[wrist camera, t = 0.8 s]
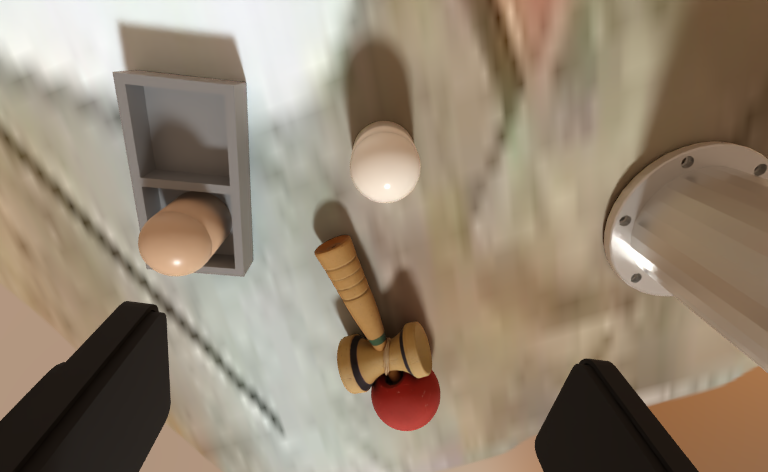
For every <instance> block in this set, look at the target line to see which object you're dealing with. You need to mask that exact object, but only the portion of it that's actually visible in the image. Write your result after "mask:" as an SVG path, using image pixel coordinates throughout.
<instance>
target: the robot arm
mask: <svg viewBox="0 0 768 472" xmlns="http://www.w3.org/2000/svg"><path fill="white" fill-rule="evenodd" d="M604 248H605V253H606V257H607V260H608V262H609V264H610V266H611V268H612V269H613V270H614V272H615V273H616V274H617V275H618V276H619V277H620V278H621V279H622V280H623V281H624V282H625V283H627V284H628V285H629V286H631V287H633V288H635V289H637V290H638V291H640V292H644V293H647V294H651V295H658V296H675V297H676V298H677V299H678V300H679V301H681V302H682V303H683V304H684V305H685V306H687V307H688V308H689V309H690V310H692V311H693V312H694V313H695V314H696V315H698V316H699V317H700V318H701V319H703V320H704V321H705V322H706V323H707V324H709V325H710V326H711V327H712V328H714V329H715V330H716V331H717V332H718V333H720V334H721V335H722V336H723V337H724V338H726V339H727V340H728V341H729V342H731V343H732V344H733V345H734V346H735V347H737V348H738V349H739V350H740V351H742V352H743V353H744V354H745V355H746V356H748V357H749V358H750V359H751V360H753V361H754V362H755V363H756V364H757V365H759V366H760V367H761V368H762V369H764V370H765V371H766V372H767V373H768V159H767V158H766V157H765V156H763V155H762V154H761V153H759V152H757V151H755V150H753V149H751V148H749V147H745V146H741V145H738V144H734V143H728V142H719V141H713V142H702V143H696V144H693V145H689V146H685V147H681V148H679V149H677V150H675V151H672V152H670V153H668V154H666V155H664V156H662V157H661V158H659V159H657V160H656V161H654V162H653V163H651V164H649V165H648V166H647V167H646V168H645V169H643V170H642V171H641V172H640V173H639V174H637V175H636V176H635V177H634V178H633V179H632V180H631V182H630V183H629V184H628V185H627V186H626V187H625V188H624V189H623V191H622V192H621V194H620V195H619V197H618V198H617V200H616V202H615V203H614V205H613V207H612V209H611V212H610V214H609V216H608V219H607V223H606V227H605V232H604ZM170 404H171V400H170V380H169V360H168V340H167V320H166V315H165V313H161V312H159V311H158V307H157V306H156V305H154V304H146V303H138V302H130V301H126V302H123V303H122V304H121V305H120V306H119V307H118V308H117V309H116V310H115V311H114V312H113V313H112V314H111V315H110V316H109V317H108V318H107V319H106V320H105V321H104V322H103V323H102V324H101V326H100V327H99V328H98V329H97V330H96V331H95V332H94V333H93V334H92V335H91V336H90V337H89V338H88V339H87V340H86V341H85V342H84V343H83V344H82V346H81V347H80V348H79V349H78V350H77V351H76V352H75V353H74V354H73V355H72V356H71V357H70V358H69V359H68V360H67V361H66V362H63V363H61V364H58V365H56V366H55V367H54V368H52V369H51V370H50V371H49V372H48V373H47V374H46V375H45V376H44V377H43V378H42V379H41V380H40V381H39V382H38V383H37V384H36V385H35V386H34V387H33V388H32V389H31V390H30V391H29V392H28V393H27V394H26V395H25V396H24V397H23V398H22V399H21V400H20V401H19V402H18V403H17V405H16V406H15V407H14V408H13V409H12V410H11V411H10V412H9V413H8V414H7V415H6V416H5V417H4V418H3V419H2V420H1V421H0V472H139V470H140V468H141V467H142V465H143V462H144V461H145V459H146V457H147V455H148V454H149V452H150V450H151V448H152V446H153V444H154V442H155V440H156V438H157V437H158V435H159V433H160V431H161V429H162V427H163V425H164V423H165V421H166V419H167V417H168V414H169V410H170ZM535 450H536V454H537V457H538V459H539V462H540V464H541V466H542V469H543V471H544V472H698V470H697V469H696V468H695V466H694V465H693V464H692V463H691V461H690V460H689V459H688V458H687V457H686V455H685V454H684V453H683V451H682V450H681V449H680V448H679V446H678V445H677V444H676V442H675V441H674V440H673V439H672V437H671V436H670V435H669V434H668V432H667V431H666V430H665V428H664V427H663V426H662V425H661V423H660V422H659V421H658V420H657V418H656V417H655V416H654V415H653V414H652V412H651V411H650V410H649V408H648V407H647V406H646V404H645V403H644V402H643V401H642V399H641V398H640V397H639V396H638V394H637V393H636V392H635V391H634V389H633V388H632V387H631V386H630V384H629V383H628V382H627V380H626V379H625V378H624V377H623V375H622V374H621V373H620V372H619V370H618V369H617V368H616V367H615V366H614V365H613V364H612V363H611V362H609V361H602V360H594V359H583V360H581V361H580V363H579V364H576V365H574V367H573V368H572V370H571V372H570V374H569V376H568V378H567V379H566V381H565V383H564V385H563V387H562V389H561V391H560V393H559V395H558V397H557V399H556V401H555V402H554V404H553V406H552V408H551V410H550V412H549V414H548V416H547V418H546V420H545V422H544V423H543V425H542V427H541V429H540V431H539V433H538V435H537V437H536V440H535Z"/></svg>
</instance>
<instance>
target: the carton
mask: <svg viewBox="0 0 768 472" xmlns="http://www.w3.org/2000/svg"><path fill="white" fill-rule="evenodd" d="M113 77H114V83H115V89H116V95H117V100H118V106H119V112H120V118H121V123H122V129H123V135H124V141H125V146H126V152H127V158H128V164H129V170H130V175H131V181H132V187H133V193H134V198H135V204H136V210H137V216H138V221H139V227H140V234H139V240H138V246H139V251H140V254H141V256H142V258H143V260H144V261H145V262H146V268H147V269H153V270H155V271H157V272H159V273H161V274H164V275H168V276H184V275H188V274H191V273H205V274H218V275H230V276H243V277H244V276H245V274H246V272H247V270H248V269H249V267H250V265H251V263H252V262H253V240H252V215H251V190H250V165H249V140H248V114H247V89H246V82H239V81H230V80H221V79H212V78H203V77H194V76H184V75H175V74H166V73H157V72H148V71H139V70H131V71H119V72H113Z"/></svg>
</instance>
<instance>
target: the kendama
mask: <svg viewBox="0 0 768 472" xmlns="http://www.w3.org/2000/svg"><path fill="white" fill-rule="evenodd" d="M315 255H316V257H317V259H318V260H319V262H320V263H321V265H322V266H323V268H324V269H325V271H326V273H327V275H328V276H329V278H330V279H331V281H332V283H333V285H334V286H335V288H336V289H337V291H338V293H339V295H340V297H341V298H342V299H343V302H344V304H345V305H346V307H347V309H348V310H349V312H350V314H351V315H352V317H353V319H354V320H355V322H356V323H357V325H358V326H359V327H360V329H361V330H362V332H363V333H364V335H365V336H366V337H367V339H368V340H366V339H365V338H363V337H362V336H361V335H359V334H353V335H350V336H347V337H344V338H343V339H341V341H340V343H339V346H338V352H337V363H338V369H339V374H340V377H341V380H342V382H343V384H344V386H345V387H346V389H347V390H348V391H349V392H351V393H353V394H356V393H362V392H367V391H368V390H369V389H370V387H371V386H372V390H371V398H372V403H373V406H374V409H375V411H376V413H377V415H378V416H379V417H380V419H381V420H382V421H383V422H384V423H386V424H387V425H388V426H390V427H392V428H394V429H397V430H401V431H412V430H416V429H419V428H421V427H423V426H424V425H426V424H427V423H428V422H429V421H430V420H431V419H432V418H433V416H434V415H435V413H436V411H437V409H438V406H439V402H440V387H439V383H438V380H437V378H436V375H435V374H434V372H433V371H432V357H431V351H430V346H429V342H428V339H427V336H426V333H425V331H424V329H423V327H422V326H421V325H420V323H418V322H417V321H416V322H411V323H407V324H405V325H404V327H403V328H402V330H401V331H400V332H399V334H398V335H396V336H395V337H393V338H392V339H391V338H390V337H389V338H387V337H386V335H385V331H384V328H383V324H382V321H381V318H380V314H379V311H378V308H377V305H376V303H375V300H374V297H373V295H372V292H371V290H370V288H369V286H368V282H367V280H366V277H365V276H364V272H363V270H362V267H361V265H360V262H359V259H358V257H357V255H356V251H355V248H354V246H353V243H352V240H351V238H350V236H349V235H341V236H338V237H335V238H333V239H330V240H328V241H326V242H324V243H323V244H321V245H320V246H319V247H318V248H317V249H316V250H315Z"/></svg>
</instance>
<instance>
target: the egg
mask: <svg viewBox="0 0 768 472" xmlns="http://www.w3.org/2000/svg"><path fill="white" fill-rule="evenodd" d="M420 171H421V163H420V158H419V155H418V152H417V150H416V147H415V145H414V143H413V140H412V138H411V136H410V135H409V133H408V132H407V131H406V130H405V129H404V128H403V127H402V126H400V125H399V124H397V123H394V122H391V121H377V122H374V123H371V124H369V125H367V126H366V127H365V128H363V129H362V130H361V132H360V133H359V134H358V136H357V137H356V140H355V142H354V146H353V151H352V155H351V160H350V174H351V178H352V181H353V183H354V185H355V186H356V188H357V189H358V191H359V192H360V193H361V194H362V195H364V196H365V197H366V198H368V199H370V200H372V201H375V202H380V203H391V202H395V201H398V200H400V199H402V198H404V197H405V196H407V195H408V194H409V193H410V192H411V191H412V190H413V189H414V187H415V186H416V184H417V182H418V179H419V176H420Z"/></svg>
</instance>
